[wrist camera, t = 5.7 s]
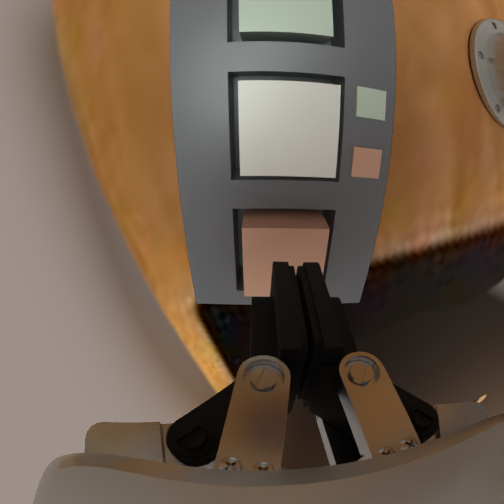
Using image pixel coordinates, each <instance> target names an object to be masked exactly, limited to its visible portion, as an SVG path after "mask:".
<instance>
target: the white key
mask: <svg viewBox="0 0 504 504" xmlns="http://www.w3.org/2000/svg"><path fill="white" fill-rule="evenodd" d="M340 95H341V85H334V84H325V83H315V82H301V81H281V80H240V81H238V110H239V151H240V176H298V177H324V178H335V177H336V166H337V153H338V139H339V121H340Z"/></svg>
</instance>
